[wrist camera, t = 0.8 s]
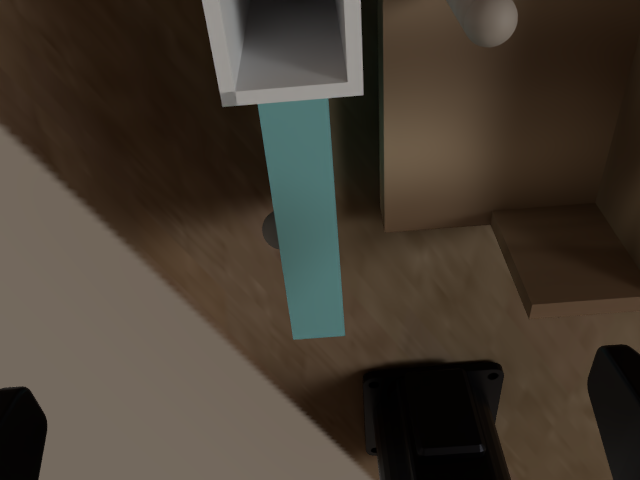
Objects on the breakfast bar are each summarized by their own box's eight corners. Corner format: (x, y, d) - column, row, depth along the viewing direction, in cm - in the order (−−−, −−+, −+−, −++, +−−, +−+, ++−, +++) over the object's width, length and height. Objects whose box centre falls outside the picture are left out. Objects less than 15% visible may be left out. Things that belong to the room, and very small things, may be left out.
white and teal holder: (352, 187, 22) (370, 334, 16) (271, 193, 22) (263, 341, 16) (336, -128, 16) (358, -59, 10) (224, -118, 16) (187, -43, 10)
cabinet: (592, 190, 22) (670, 308, 18) (380, 207, 22) (402, 328, 18) (684, -168, 15) (855, -130, 11) (375, -141, 15) (409, -90, 11)
